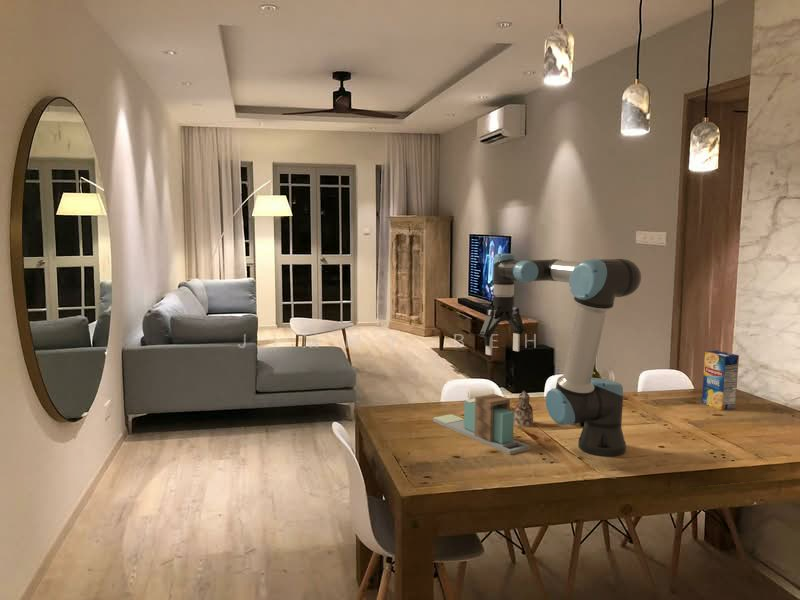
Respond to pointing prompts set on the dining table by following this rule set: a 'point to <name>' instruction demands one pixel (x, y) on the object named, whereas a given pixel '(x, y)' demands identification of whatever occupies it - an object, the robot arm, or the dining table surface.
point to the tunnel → (487, 414)
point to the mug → (478, 392)
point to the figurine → (523, 411)
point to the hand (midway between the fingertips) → (502, 352)
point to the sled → (501, 421)
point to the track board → (458, 426)
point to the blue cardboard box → (720, 379)
